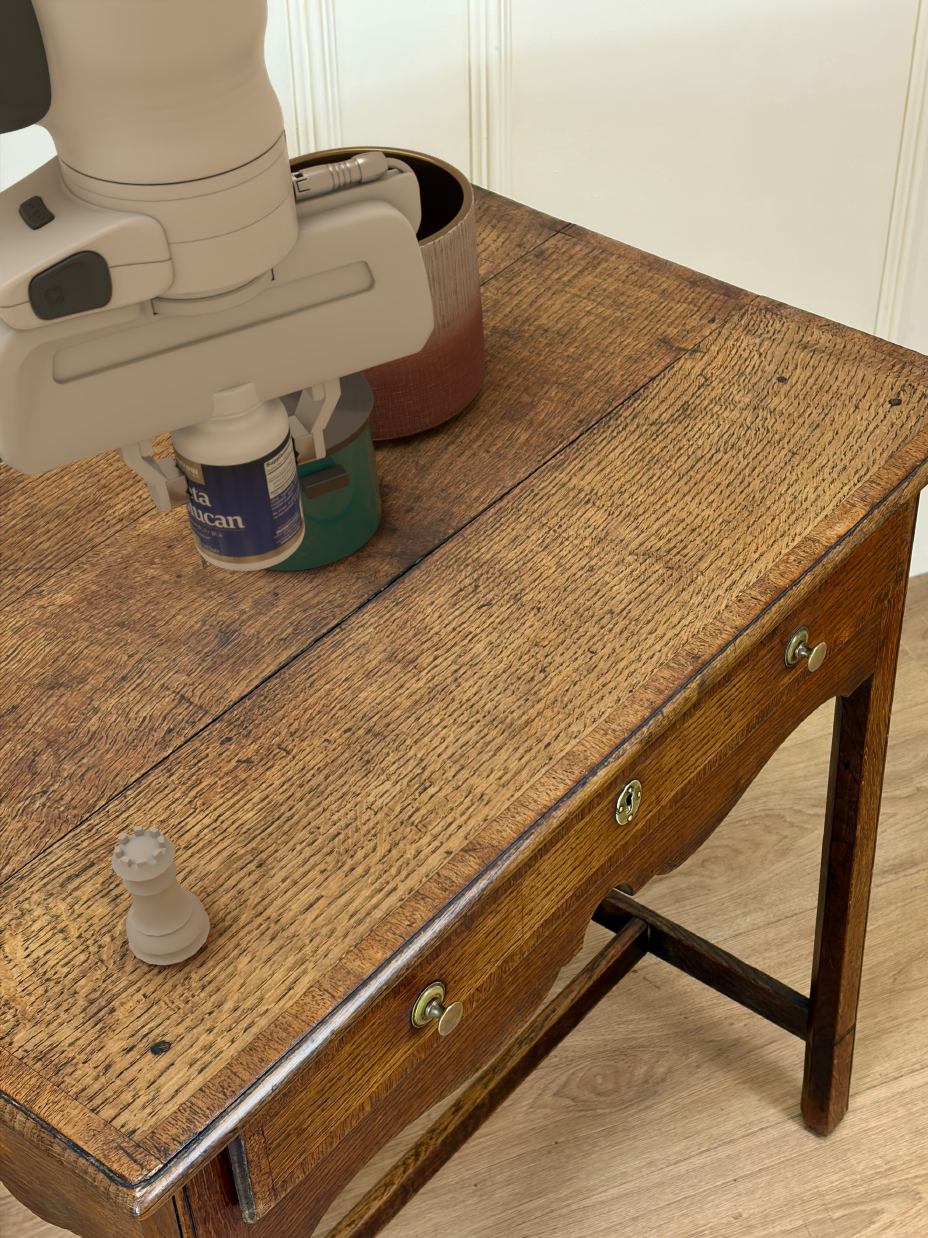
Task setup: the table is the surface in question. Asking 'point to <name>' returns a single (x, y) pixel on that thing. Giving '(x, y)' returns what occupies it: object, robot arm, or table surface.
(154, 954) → the rook chess piece
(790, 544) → the table surface
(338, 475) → the pot
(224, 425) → the pill bottle
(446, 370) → the planter
